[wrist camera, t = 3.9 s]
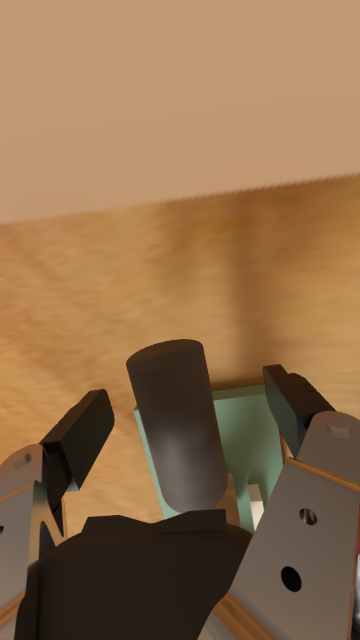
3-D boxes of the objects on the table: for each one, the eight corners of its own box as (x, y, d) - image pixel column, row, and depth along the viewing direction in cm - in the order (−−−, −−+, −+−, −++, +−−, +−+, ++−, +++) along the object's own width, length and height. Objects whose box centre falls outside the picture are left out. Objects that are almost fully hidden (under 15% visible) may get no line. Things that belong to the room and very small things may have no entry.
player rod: (205, 307, 16) (220, 410, 4) (241, 508, 20) (298, 831, 8) (158, 316, 16) (62, 429, 5) (203, 510, 20) (207, 818, 9)
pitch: (268, 383, 19) (302, 440, 13) (299, 624, 26) (331, 739, 19) (138, 400, 21) (111, 459, 14) (199, 623, 27) (199, 729, 21)
